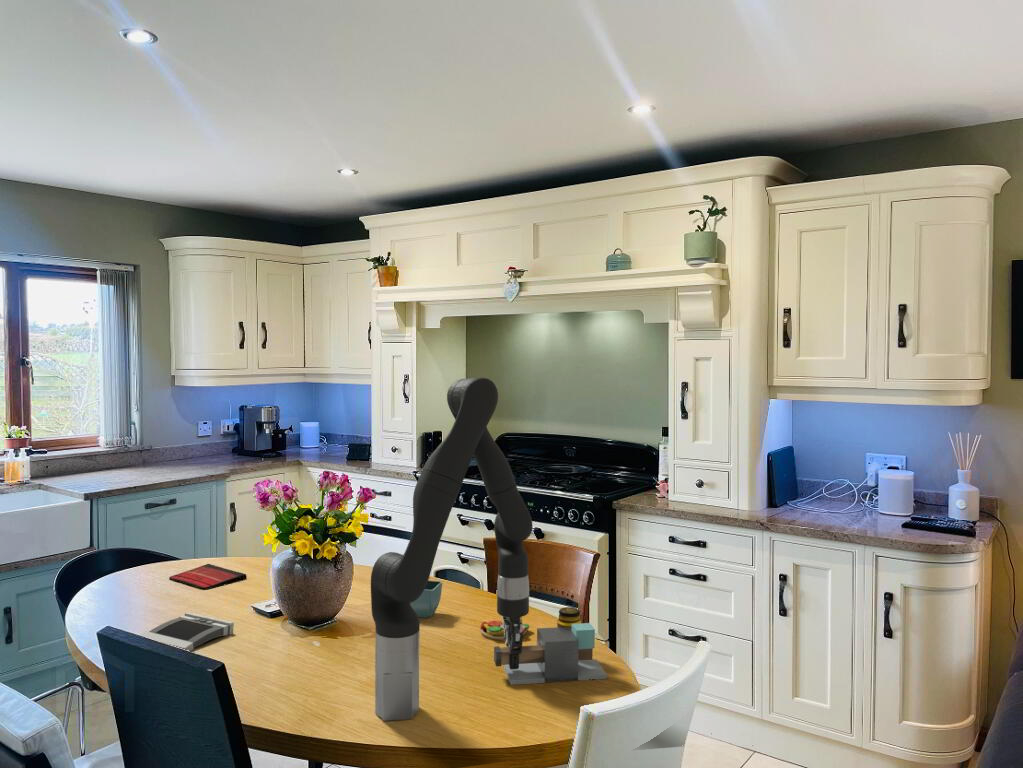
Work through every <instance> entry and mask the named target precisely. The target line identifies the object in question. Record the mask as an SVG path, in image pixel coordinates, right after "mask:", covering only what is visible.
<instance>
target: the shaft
mask: <svg viewBox="0 0 1023 768" xmlns="http://www.w3.org/2000/svg"><path fill="white" fill-rule="evenodd" d="M514 648H517V647H514ZM593 650H594V648H592V649H579V654H578V660H593ZM493 661H494V665H495V667H502V666H504V665H509V647H508V646H503V647H502V646H498V645H496V646H494V647H493ZM542 662H543V648H542V647H541V645H537V644H536V645H522V652H521V654H519V664H527V663H542Z"/></svg>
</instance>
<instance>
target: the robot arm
mask: <svg viewBox="0 0 1023 768" xmlns="http://www.w3.org/2000/svg"><path fill="white" fill-rule="evenodd" d="M446 401H447V406H448V408H449V410H450V412H451V414H452V416H453V417H454V419H455V420H454V422H453V424H452V427H451V428H450V431H449V432H448V434H447V435H446V437H445V438H444V439H443V440H442V441H441V443H439V445H438V446H437V447H436V449H434V451H433V452H432V453H431V454H430V455H429V457H428V458H427V460H426V462H425V464H424V465H423V468H422V469H421V473H420V475H419V477H418V480H417V482H416V485H415V487H414V491H413V494H412V495H413V496H412V497H413V498H412V512H413V513H412V515H413V519H412V520H413V522H412V523H413V524H412V525H413V526H412V532H411V535H410V538H409V541H408V544H407V546H406V549H405V551H404V553H399V552H394V551H393V552H392V551H390V552H389V551H388V552H386V553H383V554H381V555H380V556H379V557H378V558H377V559H376V561H375V563H374V565H373V567H372V569H371V574H370V600H371V601H370V603H371V604H370V605H371V607H370V608H371V616H372V619H373V621H374V625H375V646H374V647H375V649H374V650H375V653H374V655H375V657H374V658H375V660H374V661H375V662H374V663H375V664H374V666H375V667H374V668H375V669H374V671H375V672H374V696H375V697H374V699H375V700H374V704H375V705H374V711H375V713H374V714H375V715H376V716H378V717H379V718H380V719H382V721H383V722H386V721H387V722H388V721H398V720H399V721H401V720H411V719H414V718H413V717H414V716H415V715H416V714H418V712H419V710H420V633H421V631H420V622H421V621H420V617H419V616H418V615H417V613H416V612H415V611H414V609H413V608H412V606H411V604H410V603H412V602H414V601H415V600H417V599H418V598H419V597H420V596H421V594H422V593H423V591H424V589H425V587H426V585H427V582H428V580H429V579H430V576H431V573H432V569H433V566H434V563H435V558H436V554H437V551H438V547H439V545H440V541H441V539H442V535H443V533H444V531H445V528H446V525H447V522H448V519H449V517H450V514H451V512H452V509H453V506H454V505H455V502H456V500H457V498H458V495H459V493H460V490H461V488H462V485H463V482H464V479H465V477H466V473H467V472H468V469H469V467H470V464H471V462H472V459H473V458H474V460H475V463H476V464H477V467H478V470H479V472H480V477H481V478H482V483H483V484H484V488H485V491H486V493H487V496H488V499H489V501H490V502H491V503H492V504H493V506H494V507H495V508H496V510H497V514H496V516H495V518H494V519H495V520H494V525H493V526H494V538H495V542H496V543H495V544H496V549H497V553H498V563H497V564H498V565H497V567H498V572H497V573H498V575H497V583H496V584H497V585H496V612H497V614H498V615H499V616H500V617H502V616H503V625H504V640H503V641H505V643H504V645H505V647H509V668H510V669H511V670H512V669H518V668H519V654H521V652H522V646H523V640H524V635H523V632H522V629H523V625H522V624H523V621H522V622H521V621H520V618H522V617H526V616H527V615H528V614H529V612H530V580H529V555H528V552H527V551H526V549H525V547H524V544H523V543H524V541H525V540H527V539H528V538H529V537H530V535H531V534H532V532H533V519H532V516H531V513H530V511H529V509H528V507H527V505H526V503H525V501H524V499H523V497H522V495H521V494H520V491H519V490H518V487H517V482H516V480H515V477H514V474H513V470H512V468H511V466H510V463H509V461H508V459H507V457H506V455H505V454H504V452H503V451H502V449H500V446H499V445H498V444H497V443H496V441H495V440H494V438H493V436H492V435H491V433H490V431H489V429H488V427H487V426H488V425H489V423H490V421H491V419H492V417H493V415H494V413H495V411H496V409H497V406H498V402H499V393H498V389H497V385H496V384H495V383H494V382H493V381H492V379H489V378H486V377H469V378H459V379H457V380H455V381H454V382H452V383H451V385H450V386H449V388H448V390H447V393H446ZM514 647H517V648H514Z"/></svg>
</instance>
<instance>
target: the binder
mask: <svg viewBox="0 0 1023 768" xmlns="http://www.w3.org/2000/svg"><path fill="white" fill-rule="evenodd" d="M238 579H243V580H244V579H245V580H247V574H246V573H244V572H239V571H235V570H232V569H227V568H225V567H220V566H218V565H214V564H210V563H207V564H204V565H200V566H198V567H195V568H192V569H190V570H186V571H182V572H180V573H177V574H173V575H171V576H169V580H170V581H173V582H178V583H182V584H185V585H189V586H193V587H195V588H197V589H198V590H210V589H215V588H217V587H221V586H224V585H230V584H232V583H236V582H238Z"/></svg>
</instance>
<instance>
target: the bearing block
mask: <svg viewBox="0 0 1023 768" xmlns="http://www.w3.org/2000/svg"><path fill="white" fill-rule="evenodd" d="M536 645H541V647H542V648H543V662H542V663H537V665H538V666H539V668H540V670H541V672H542V674H543V676H544V678H545V680H546V681H545V684H546V683H549V682H548V681H549V679H550V678H551V679H550V681H551V682H550V683H561V682H562V681H563V682H575V681H574V680H576V679H575V678H576V676H577V677H578V654H579V640H578V639H577V637H576V636H575V634H574V633H573V632H572V630H571V629H570V627H557V626H556V627H537V629H536ZM560 677H561V678H560ZM562 677H565V678H564V679H562ZM569 677H571V678H572V677H574V678H572V679H573V680H572V679H571V678H570V679H569ZM556 678H557V679H556ZM566 679H567V680H566ZM557 680H559V681H558V682H557ZM564 680H565V681H564ZM570 680H572V681H570ZM577 680H578V678H577ZM552 681H553V682H552ZM555 681H556V682H555ZM563 682H562V683H563Z"/></svg>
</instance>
